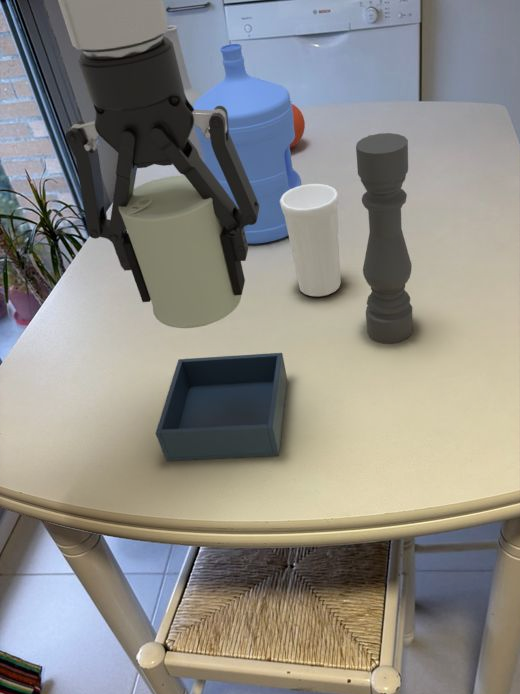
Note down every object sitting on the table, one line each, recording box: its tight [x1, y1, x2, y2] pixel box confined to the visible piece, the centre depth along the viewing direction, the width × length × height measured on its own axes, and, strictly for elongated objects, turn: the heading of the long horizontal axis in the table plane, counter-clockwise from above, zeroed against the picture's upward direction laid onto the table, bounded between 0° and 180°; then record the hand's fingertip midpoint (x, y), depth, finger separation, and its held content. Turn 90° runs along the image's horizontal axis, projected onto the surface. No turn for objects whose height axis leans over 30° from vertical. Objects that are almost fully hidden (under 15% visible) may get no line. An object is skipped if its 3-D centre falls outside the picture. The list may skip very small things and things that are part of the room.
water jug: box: [193, 43, 303, 245], centre depth 105 cm, size 16×16×28 cm
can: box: [118, 174, 242, 329], centre depth 63 cm, size 9×9×12 cm
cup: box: [280, 183, 342, 297], centre depth 93 cm, size 8×8×14 cm
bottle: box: [163, 24, 204, 162], centre depth 118 cm, size 7×7×28 cm
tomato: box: [289, 100, 306, 149], centre depth 135 cm, size 10×10×10 cm
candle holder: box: [355, 132, 414, 344], centre depth 79 cm, size 6×6×25 cm
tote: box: [154, 352, 288, 462], centre depth 77 cm, size 13×13×4 cm
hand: (194, 291), depth 66 cm, fingers closed on can, 9 cm apart
